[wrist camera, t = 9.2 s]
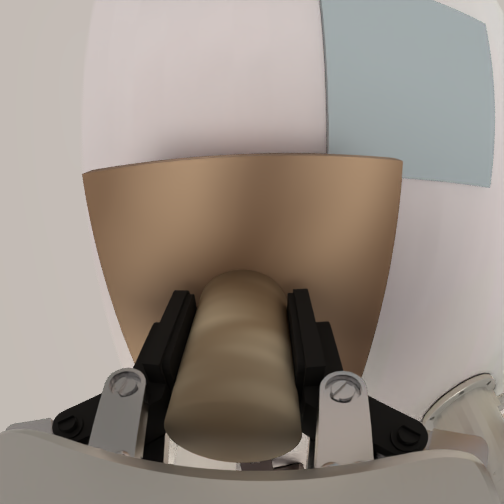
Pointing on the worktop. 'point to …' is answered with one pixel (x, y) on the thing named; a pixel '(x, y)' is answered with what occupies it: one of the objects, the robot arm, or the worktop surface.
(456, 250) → the worktop surface
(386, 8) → the slate mat
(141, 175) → the square wooden lid
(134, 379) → the robot arm
